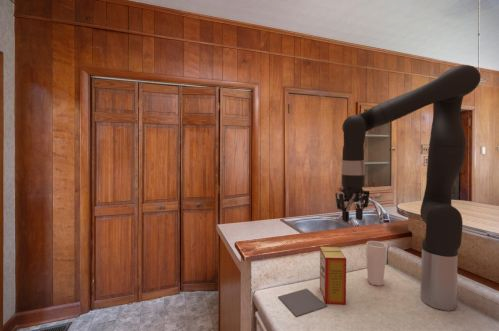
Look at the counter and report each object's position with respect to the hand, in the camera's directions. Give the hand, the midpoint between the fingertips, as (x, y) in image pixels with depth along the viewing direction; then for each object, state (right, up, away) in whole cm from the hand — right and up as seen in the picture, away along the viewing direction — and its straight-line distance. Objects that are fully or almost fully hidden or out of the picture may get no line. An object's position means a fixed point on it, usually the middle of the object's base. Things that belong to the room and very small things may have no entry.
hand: (352, 220), depth 87 cm
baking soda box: (-8, -26, -2) cm, 27 cm away
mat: (-19, -26, -5) cm, 33 cm away
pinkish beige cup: (+11, -25, +6) cm, 28 cm away
